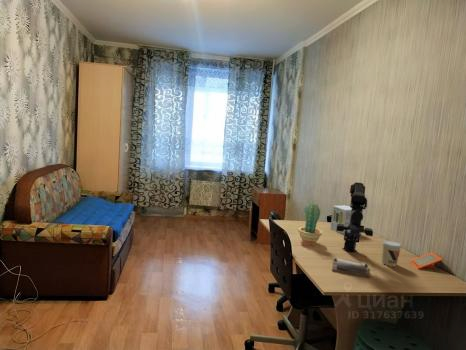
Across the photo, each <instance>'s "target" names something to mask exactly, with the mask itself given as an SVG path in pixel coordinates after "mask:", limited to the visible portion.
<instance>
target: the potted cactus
mask: <svg viewBox="0 0 466 350" xmlns="http://www.w3.org/2000/svg"><path fill="white" fill-rule="evenodd" d="M303 210H304V211H303V212H304V217H305V226H301V227H298V229H297V231H298V233H299V237H300V239H301V242H302V243H303V244H305V245H311V246H312V245H313V246H315V245H316V244H317V241H318V240H319V239H320V237H321V236H322V235H323V231H322V230H321V229H319V228H317V223H318V221H319V219H320V217H321V209H320V207H319V205H318V204H316V203H312V202H311V203H310V204H307V205H306V206H305V207H304V209H303Z"/></svg>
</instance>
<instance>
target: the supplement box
mask: <svg viewBox="0 0 466 350" xmlns="http://www.w3.org/2000/svg"><path fill="white" fill-rule="evenodd" d="M351 209H352V208H350V205H346V204H345V205H333V206H332V212H331V221H330V230H333V231H335V232H337V233H340V234H343V235H344V233H345V231H346V230H344V231H343V232H341V231H336V229H337V224H344V226H345V227H348V225H349V224H350V217H351Z"/></svg>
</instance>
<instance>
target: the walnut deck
mask: <svg viewBox="0 0 466 350" xmlns="http://www.w3.org/2000/svg"><path fill="white" fill-rule="evenodd" d="M364 264H365V268H366V271H365V274H364V273H359V272H354V271H348V270H343V269H338V268H337V258H336V257H335V258H333V261H332V268H331V271H332V272H334V273H341V274H345V275H352V276H356V277H362V278H366V279H367V278H368V279H369V278H370V272H369V266H368V263H364Z"/></svg>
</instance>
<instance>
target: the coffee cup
mask: <svg viewBox="0 0 466 350" xmlns="http://www.w3.org/2000/svg"><path fill="white" fill-rule="evenodd" d="M401 248H402V245H401V244H400V243H399V242H395V241H392V240H384V241H383V242H382V249H381V250H382V253H381V264H383V263H384V264H386V265H385V266H387V265H391V266H390V267H392V266H394V265H396V266H397V265H398V260H399V257H400V252H401V251H400V250H401ZM384 264H383V265H384ZM394 267H395V266H394Z"/></svg>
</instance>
